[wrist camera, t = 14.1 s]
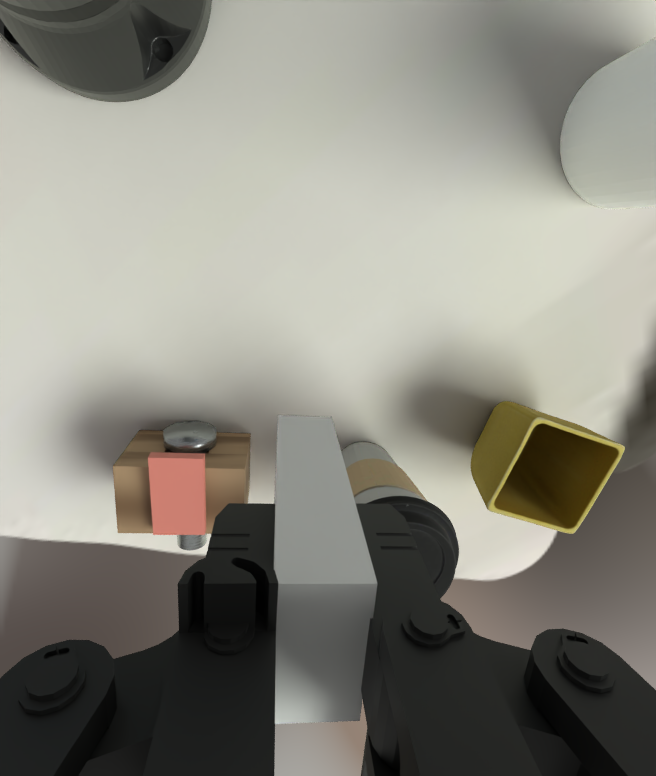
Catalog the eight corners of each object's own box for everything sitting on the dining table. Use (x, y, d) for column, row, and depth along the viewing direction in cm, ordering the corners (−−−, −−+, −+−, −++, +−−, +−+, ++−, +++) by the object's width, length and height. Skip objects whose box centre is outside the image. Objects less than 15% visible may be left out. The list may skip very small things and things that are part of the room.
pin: (169, 420, 42) (157, 440, 37) (219, 422, 42) (212, 442, 38) (173, 527, 45) (162, 556, 41) (219, 527, 46) (212, 556, 41)
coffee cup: (315, 512, 47) (330, 633, 32) (314, 425, 44) (329, 516, 29) (407, 506, 47) (461, 622, 33) (412, 421, 44) (473, 507, 30)
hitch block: (139, 429, 42) (112, 466, 35) (250, 433, 43) (244, 469, 37) (142, 488, 44) (117, 533, 37) (249, 490, 45) (243, 533, 38)
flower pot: (523, 483, 48) (575, 537, 39) (448, 460, 46) (486, 511, 38) (563, 408, 46) (628, 447, 37) (486, 380, 44) (536, 415, 35)
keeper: (150, 452, 35) (147, 457, 34) (204, 453, 35) (203, 458, 35) (155, 528, 37) (153, 534, 37) (206, 528, 38) (204, 535, 37)
